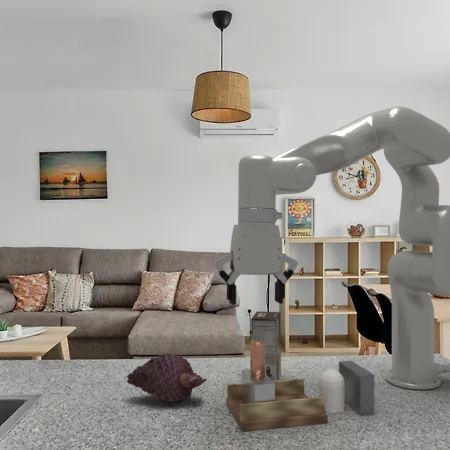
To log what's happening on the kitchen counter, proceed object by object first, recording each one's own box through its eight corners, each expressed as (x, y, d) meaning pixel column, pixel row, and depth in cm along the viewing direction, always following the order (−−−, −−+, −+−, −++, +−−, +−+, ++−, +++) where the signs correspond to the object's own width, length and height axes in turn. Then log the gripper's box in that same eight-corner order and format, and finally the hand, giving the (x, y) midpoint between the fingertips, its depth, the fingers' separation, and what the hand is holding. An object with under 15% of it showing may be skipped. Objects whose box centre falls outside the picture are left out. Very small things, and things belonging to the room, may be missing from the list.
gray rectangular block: (351, 396, 110) (351, 360, 110) (374, 414, 100) (374, 374, 100) (338, 397, 109) (338, 361, 109) (360, 415, 100) (360, 375, 99)
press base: (301, 397, 110) (301, 377, 110) (327, 423, 96) (327, 400, 96) (226, 403, 106) (226, 382, 106) (242, 431, 92) (242, 407, 92)
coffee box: (256, 373, 127) (256, 310, 126) (281, 374, 125) (281, 311, 125) (250, 385, 118) (250, 317, 117) (277, 387, 116) (277, 318, 116)
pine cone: (121, 407, 104) (120, 360, 104) (134, 391, 114) (133, 347, 114) (204, 410, 103) (204, 362, 102) (210, 393, 112) (210, 349, 112)
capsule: (318, 402, 107) (318, 365, 107) (343, 403, 106) (343, 366, 106) (319, 412, 101) (319, 373, 101) (345, 413, 101) (345, 374, 100)
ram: (260, 396, 106) (260, 335, 105) (274, 414, 96) (274, 347, 96) (242, 397, 105) (241, 336, 104) (255, 416, 95) (254, 348, 95)
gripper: (291, 218, 105) (290, 299, 105) (210, 217, 101) (210, 301, 102) (304, 218, 98) (303, 305, 98) (218, 217, 94) (217, 307, 94)
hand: (255, 303), depth 100 cm, fingers open, 9 cm apart
